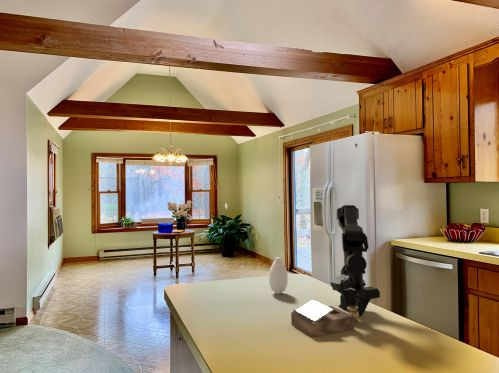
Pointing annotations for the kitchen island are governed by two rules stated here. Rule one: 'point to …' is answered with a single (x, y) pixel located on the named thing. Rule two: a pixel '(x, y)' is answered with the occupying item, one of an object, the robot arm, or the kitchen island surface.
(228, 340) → the kitchen island surface
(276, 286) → the sauce bottle
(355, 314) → the gold metal dome
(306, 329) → the brown box
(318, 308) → the steel flap
